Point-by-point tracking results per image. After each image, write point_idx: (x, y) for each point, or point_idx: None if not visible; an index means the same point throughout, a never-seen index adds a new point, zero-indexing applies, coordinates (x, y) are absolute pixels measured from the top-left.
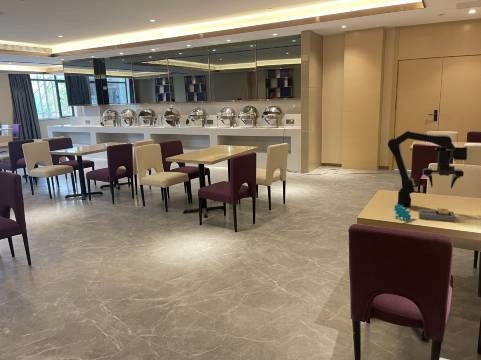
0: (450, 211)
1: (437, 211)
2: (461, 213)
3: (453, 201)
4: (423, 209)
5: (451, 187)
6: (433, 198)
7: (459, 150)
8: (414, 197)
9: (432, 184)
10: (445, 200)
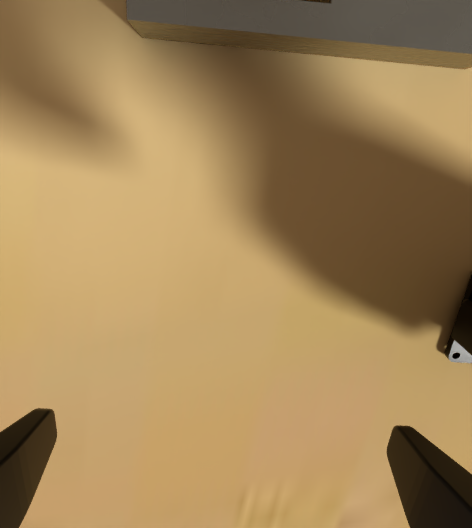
0: (156, 18)
1: (305, 2)
2: (53, 170)
3: (95, 484)
4: (454, 44)
5: (27, 420)
6: (221, 522)
7: None
8: (345, 522)
9: (440, 478)
10: (147, 495)
